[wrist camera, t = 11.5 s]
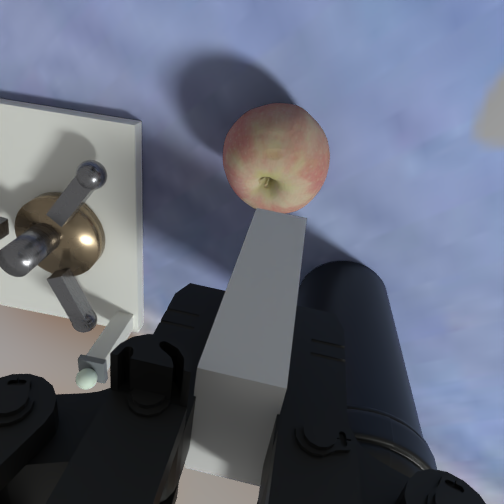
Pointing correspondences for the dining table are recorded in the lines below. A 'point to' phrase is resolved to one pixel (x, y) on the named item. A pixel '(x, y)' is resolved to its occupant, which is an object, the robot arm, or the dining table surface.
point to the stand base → (100, 202)
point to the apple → (276, 157)
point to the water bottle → (371, 364)
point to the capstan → (60, 241)
